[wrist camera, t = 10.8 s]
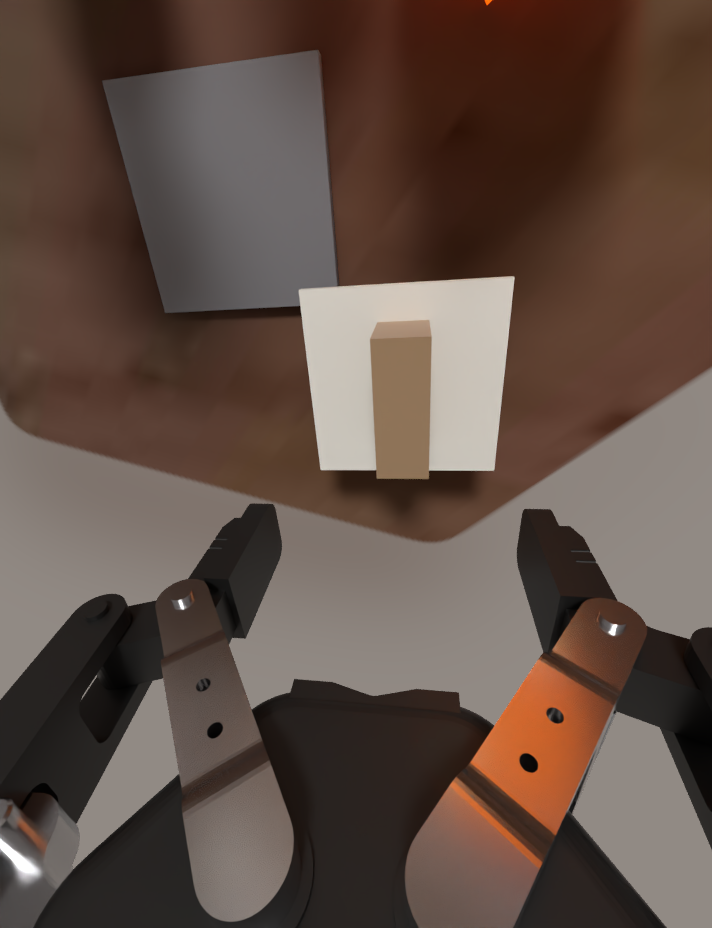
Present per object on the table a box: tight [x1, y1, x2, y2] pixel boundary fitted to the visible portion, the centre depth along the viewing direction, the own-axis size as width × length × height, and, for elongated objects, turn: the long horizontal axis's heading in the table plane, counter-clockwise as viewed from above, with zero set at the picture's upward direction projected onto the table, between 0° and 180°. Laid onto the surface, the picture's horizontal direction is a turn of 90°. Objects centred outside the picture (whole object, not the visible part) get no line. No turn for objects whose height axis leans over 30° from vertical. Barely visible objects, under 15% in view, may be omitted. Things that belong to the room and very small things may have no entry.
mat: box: [102, 50, 339, 313], centre depth 27 cm, size 13×13×1 cm
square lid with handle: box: [299, 276, 515, 479], centre depth 24 cm, size 12×12×5 cm
